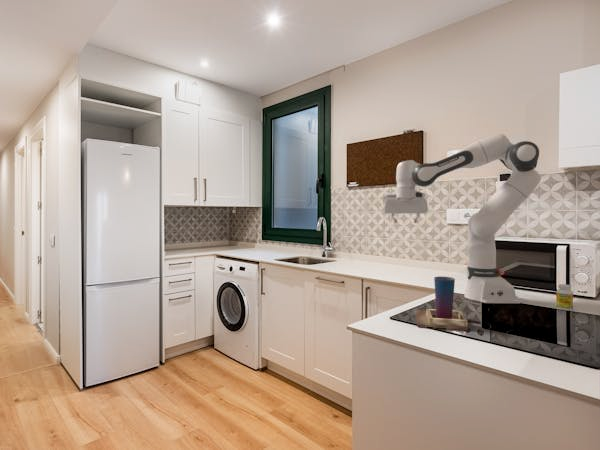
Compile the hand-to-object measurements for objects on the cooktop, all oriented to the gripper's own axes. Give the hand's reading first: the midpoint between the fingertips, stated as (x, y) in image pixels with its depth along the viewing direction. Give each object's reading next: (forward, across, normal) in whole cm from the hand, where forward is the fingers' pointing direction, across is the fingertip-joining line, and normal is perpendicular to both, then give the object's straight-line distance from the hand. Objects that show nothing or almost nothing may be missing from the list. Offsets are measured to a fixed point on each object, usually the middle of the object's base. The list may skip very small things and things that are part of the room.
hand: (405, 223), depth 170 cm
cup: (+33, +11, -43) cm, 56 cm away
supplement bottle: (+34, +61, -15) cm, 72 cm away
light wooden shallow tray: (+34, +10, -42) cm, 55 cm away
